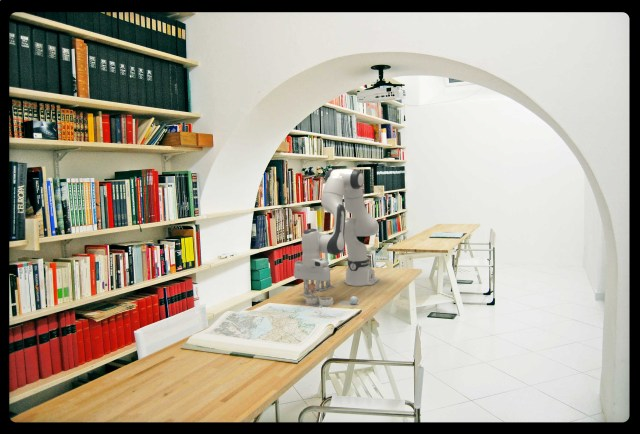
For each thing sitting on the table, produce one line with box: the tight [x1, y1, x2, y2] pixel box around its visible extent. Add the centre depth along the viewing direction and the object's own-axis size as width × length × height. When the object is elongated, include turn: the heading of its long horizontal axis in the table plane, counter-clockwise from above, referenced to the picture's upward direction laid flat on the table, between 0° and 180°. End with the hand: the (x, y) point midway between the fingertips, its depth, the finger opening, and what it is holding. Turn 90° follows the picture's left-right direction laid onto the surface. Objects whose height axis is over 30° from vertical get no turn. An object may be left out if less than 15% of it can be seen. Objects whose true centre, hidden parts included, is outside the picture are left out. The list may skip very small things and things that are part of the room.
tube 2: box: [319, 296, 334, 307], centre depth 239 cm, size 7×7×3 cm
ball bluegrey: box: [349, 295, 359, 304], centre depth 236 cm, size 4×4×4 cm
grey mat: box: [337, 300, 361, 307], centre depth 238 cm, size 6×10×1 cm, turn 57°
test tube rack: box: [299, 264, 335, 297], centre depth 267 cm, size 25×4×13 cm, turn 142°
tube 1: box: [305, 294, 321, 304], centre depth 244 cm, size 7×7×3 cm
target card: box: [299, 301, 336, 308], centre depth 240 cm, size 10×15×1 cm, turn 57°
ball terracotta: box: [308, 282, 316, 291], centre depth 243 cm, size 4×4×4 cm
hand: (312, 288), depth 243 cm, fingers closed on ball terracotta, 4 cm apart
